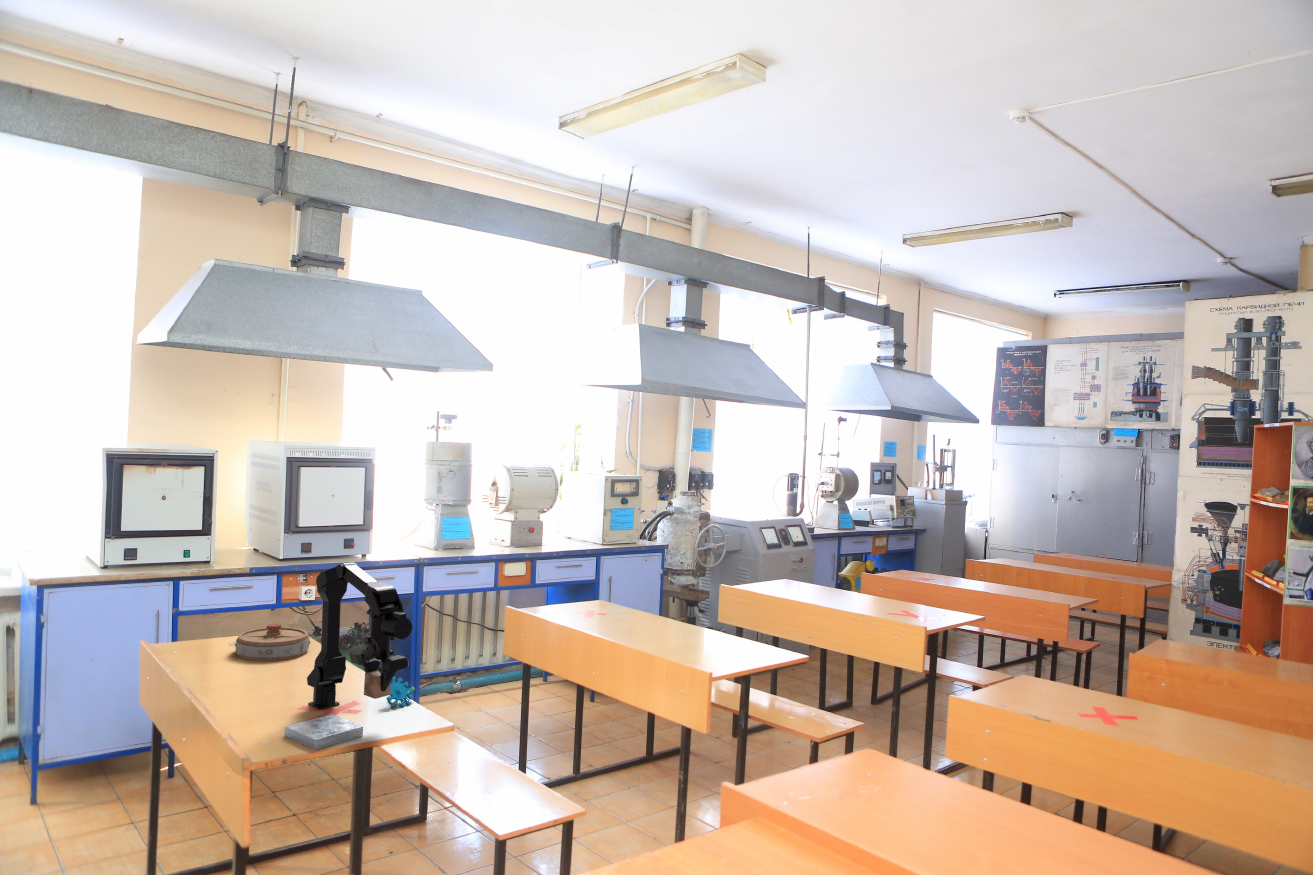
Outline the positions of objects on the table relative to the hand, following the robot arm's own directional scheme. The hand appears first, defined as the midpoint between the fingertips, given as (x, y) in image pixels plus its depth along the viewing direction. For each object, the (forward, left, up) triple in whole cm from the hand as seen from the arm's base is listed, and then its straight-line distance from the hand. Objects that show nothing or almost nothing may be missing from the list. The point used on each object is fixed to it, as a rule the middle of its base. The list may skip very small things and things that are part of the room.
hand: (377, 689), depth 232 cm
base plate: (-4, -13, -11) cm, 17 cm away
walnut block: (0, 0, -2) cm, 2 cm away
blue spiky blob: (-13, +17, -11) cm, 24 cm away
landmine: (-89, +21, -11) cm, 92 cm away
